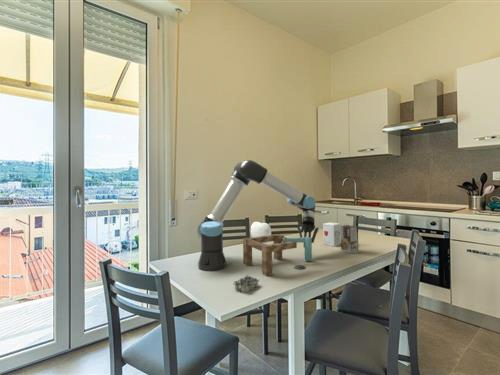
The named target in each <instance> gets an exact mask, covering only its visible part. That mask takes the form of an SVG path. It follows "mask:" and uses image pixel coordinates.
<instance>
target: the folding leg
mask: <svg viewBox="0 0 500 375" xmlns="http://www.w3.org/2000/svg"><path fill="white" fill-rule="evenodd" d="M291 241H295V242H297V243H303V242H304V243H303V248H304V260H305V261H306V262H310V261H311V262H312V261H313V246H312V245H313V243H312V236H311V237H308V236H307V237H305V238H304V237H302V238H300V237H286V236H284V237H283V242H282V243H284V242H291Z"/></svg>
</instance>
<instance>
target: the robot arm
mask: <svg viewBox="0 0 500 375" xmlns="http://www.w3.org/2000/svg"><path fill="white" fill-rule="evenodd" d="M251 181H252V182H254V183H256V184H259V185H260V184H262V185H264V186H265V187H267V188H269V189H270V190H272V191H274V192H275V193H277V194H279V195H281V196H282V197H284V198H286V201H287V203H288V204H290V205H292V206H293V207H295V208H297V209H299V210H301V211H302V221H301V225H300V226H297V227H296V228H297V232H298V233H299V238H305V237H311V238H312V244H314V242H315V239H316V238H317V237H316V236H317V234H318V232H319V231H320V230H319V227H316V226H315V222H316V221H315V218H316V217H315V216H316V215H315V214H316V213H315V212H316V199H315V197H313V196H312V195H308V194H306V193H305V192H303V191H301V190H299V189H297V188H296V187H294V186H293V185H290V184H289V183H287V182H285V181H284V180H283V179H280V178H279V177H278V176H275V175H274V174H273V173H270V172H269V170H268V168H266V167H264V166H262V165H261V164H259V163H258V162H257V161H255V160H252V159H251V160H250V159H247V160H243V161H240V162H239V161H238V162H237V163H236V165H235V166H234V168H233V172H232V173H231V174H230V181H229V183H228V184H227V186H226V188H225V189H224V191H223V193H222V195H221V196H220V198H219V200H218V201H217V203H216V204H215V206H214V208H213V209H212V211H211V213H210V214H208V215H206V216H205V217H204V219H203V220H202V221H201V222H200V223H199V225H198V227H197V235H198V238H199V239H200V250H201V251H200V252H201V253H200V256H199V259H198V263H197V266H198V269H199V270H202V271H216V270H222V269H224V268H226V267H227V259H226V256H225V253H224V247H223V246H224V244H223V242H224V240H223V237H224V234H223V232H224V231H223V230H224V229H223V228H224V220H225V219H226V217H227V215H228V214H229V212H230V210H231V209H232V207H233V205H234V204H235V202H236V200H237V199H238V197H239V195H240V194H241V192H242V191H243V189H244V188H246V187H248V185H249V184H250V182H251ZM302 231H303V233H304V234H302ZM313 231H314V232H313ZM312 233H313V234H312ZM307 234H308V235H307ZM302 243H303V244H304V242H302Z"/></svg>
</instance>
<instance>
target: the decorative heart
mask: <svg viewBox="0 0 500 375" xmlns="http://www.w3.org/2000/svg"><path fill="white" fill-rule="evenodd" d="M250 235H251V238H254V237H261V236H269V235H272V228H271V225H270V224H268V223H267V222H259V221H254V222H252V224H251V226H250ZM267 243H268V242H264V243H263V244H266V245H268V244H267Z"/></svg>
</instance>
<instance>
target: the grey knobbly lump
mask: <svg viewBox="0 0 500 375" xmlns="http://www.w3.org/2000/svg"><path fill="white" fill-rule="evenodd" d="M259 282H260V279H257V277H253V276H250V275H248V274H247V275H246V276H244V277H240V279H238V280H234V281H233V285H234V290H235V291H237V292H238V291H239V292H241V293H248V292H250V291H251V290H254V288H257V287H259Z"/></svg>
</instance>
